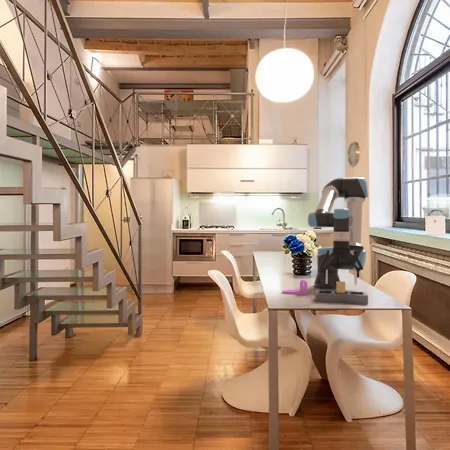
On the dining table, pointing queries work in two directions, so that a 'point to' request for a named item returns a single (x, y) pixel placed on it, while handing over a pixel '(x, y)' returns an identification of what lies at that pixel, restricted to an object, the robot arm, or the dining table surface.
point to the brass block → (340, 287)
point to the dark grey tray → (341, 297)
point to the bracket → (302, 290)
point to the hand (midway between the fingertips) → (341, 283)
